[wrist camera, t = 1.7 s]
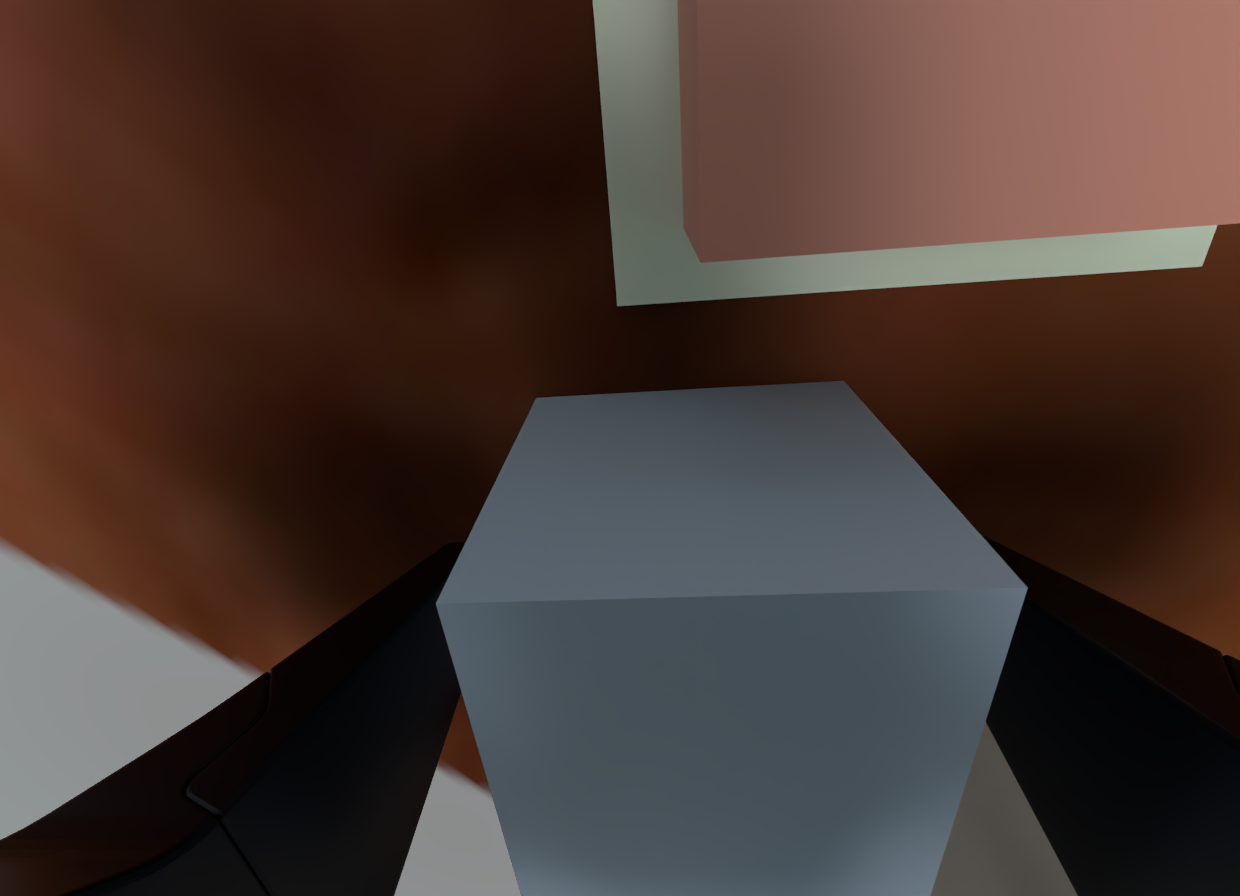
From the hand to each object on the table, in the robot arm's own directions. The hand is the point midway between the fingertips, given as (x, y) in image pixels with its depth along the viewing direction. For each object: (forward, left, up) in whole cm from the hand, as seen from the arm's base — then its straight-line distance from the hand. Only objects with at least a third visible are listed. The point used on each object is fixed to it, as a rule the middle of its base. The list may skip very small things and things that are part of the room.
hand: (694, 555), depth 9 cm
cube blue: (0, 0, -1) cm, 1 cm away
